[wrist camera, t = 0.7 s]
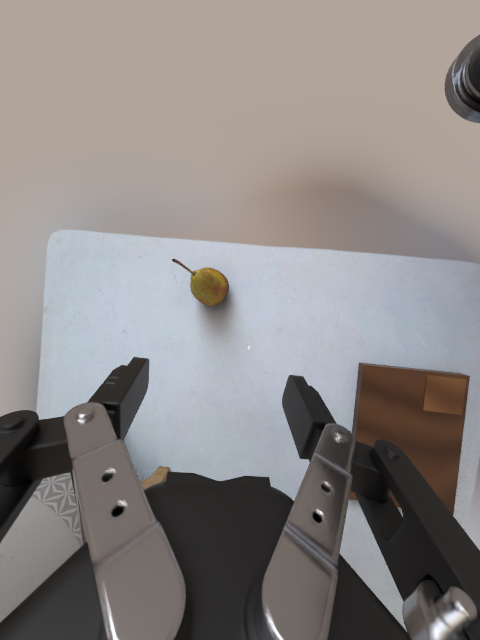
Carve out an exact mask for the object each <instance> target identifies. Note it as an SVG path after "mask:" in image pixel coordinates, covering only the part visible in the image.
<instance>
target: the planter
mask: <svg viewBox="0 0 480 640" xmlns="http://www.w3.org/2000/svg"><path fill="white" fill-rule="evenodd" d="M168 472H170V468H169V467H159V468H158V469H157V470H156V471H155V472H154V473H153V474H152V475H151V476H150V477H148V478H147V479H145V480H144V481H142V482H141V485H142V488H143V490H145V489H146V488H148V487H150V486H152V485H154V484H157V483H160V482H164V481H166V478H167V473H168ZM81 546H82V539H81V533H80V527H79V520H78V514H77V508H76V502H75V497H74V491H73V485H72V480H71V474H70V472H69V473H65V474H61V475H56V476H52V477H48V478H43V480H42V481H41V483H40V484H39V486H38V487H37V489H36V490H35V492H34V493H33V495H32V496H31V498H30V499H29V501H28V502H27V504H26V505H25V507H24V508H23V510H22V511H21V513H20V514H19V516H18V517H17V519H16V520H15V522H14V523H13V525H12V526H11V528H10V529H9V531H8V532H7V534H6V535H5V537H4V538H3V540H2V541H1V543H0V622H1V621H2V620H3V619H4V618H5V617H7V616H8V615H9V614H10V613H11V612H12V611H13V610H14V609H15V608H16V607H17V606H18V605H19V604H20V603H21V602H22V601H24V600H25V599H26V598H27V597H28V596H29V595H30V594H31V593H32V592H33V591H34V590H35V589H36V588H37V587H38V586H39V585H41V584H42V583H43V582H44V581H45V580H46V579H47V578H48V577H49V576H50V575H51V574H52V573H53V572H54V571H55V570H57V569H58V568H59V567H60V566H61V565H62V564H63V563H64V562H65V561H66V560H67V559H68V558H69V557H70V556H71V555H72V554H74V553H75V552H76V551H77V550H78V549H79V548H80V547H81Z"/></svg>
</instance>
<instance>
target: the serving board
mask: <svg viewBox="0 0 480 640" xmlns="http://www.w3.org/2000/svg"><path fill="white" fill-rule="evenodd" d="M469 377H470V376H468V375H464V374H461V373H453V372H443V371H433V370H424V369H414V368H405V367H395V366H386V365H376V364H367V363H359V371H358V381H357V391H356V400H355V410H354V420H353V429H352V435H353V436H354V438H355V440H356V441H358V442H361V443H364V444H367V445H370V446H373V444H374V442H375V441H376V440H379V439H382V440H386V441H389V442H391V443H393V444H395V445H396V446H398V447H399V448H400V449H401V450H402V451H403V452H404V453H405V454H406V455H407V456H408V458H409V459H410V460H411V462H412V463H413V464H414V466H415V467H416V468H417V469H418V471H419V472H420V473H421V475H422V476H423V477H424V479H425V480H426V481H427V483H428V484H429V485H430V486H431V488H432V489H433V490H434V492H435V493H436V494H437V496H438V497H439V498H440V500H441V501H442V502H443V503H444V505H445V506H446V507H447V509H448V510H449V511H450V513H451V514H452V515H453V513H454V504H455V496H456V487H457V479H458V470H459V462H460V453H461V445H462V436H463V428H464V419H465V411H466V403H467V394H468V386H469ZM391 498H392V500H393V501H394V503H395V505H396V507H400V505H399V504H398V502H397V500H396V499H395V497H394V495H393V494H392V495H391ZM349 499H353V500H358V499H357V497H356V495H355V493H354V492H351V491H350V495H349ZM400 508H401V507H400Z"/></svg>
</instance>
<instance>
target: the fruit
mask: <svg viewBox="0 0 480 640" xmlns="http://www.w3.org/2000/svg"><path fill="white" fill-rule="evenodd" d="M172 261H173V262H175V263H178V264H179V265H181V266H182V267H184V268H185V269H187V270H188V271H189V272H190V273H192V274H191V283H190V287H191V292H192V294H193V295H194V297H195V298H196V299H197V300H199V301H200V302H201V303H203V304H205V305H207V306H217V305H218V304H220V303H221V302H222V301H223V300H224V299H225V297H226V295H227V292H228V289H229V284H228V281H227V279H226V277H225V276H224V275H223V274H222V273H221V272H219V271H217V270H215V269H212V268H203V269H200V270H196V271H191V270H190V269H188V268H187V267H186V266H184V265H183V264H181V263H180V262H179V261H177V260H176V259H172Z"/></svg>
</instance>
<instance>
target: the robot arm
mask: <svg viewBox="0 0 480 640" xmlns="http://www.w3.org/2000/svg"><path fill="white" fill-rule="evenodd" d="M463 82H464V86H465V88H466V90H467V92H468V93H469V94H470V95H471V96H472V97H473V98H474V99H475V100H477V101H479V102H480V43H479V44H478V45H477V46H476V47H475V48H474V50H473V51H472V52H471V54H470V55H469V56H468V58H467V60H466V62H465V65H464V68H463ZM148 382H149V359H147V358H138V357H134V358H133V359H132V360H131V362H130V363H129V364H128V366H125V365H121V366H120V367H118V368H116V369H114V370H113V371H112V372H111V374H110V375H109V376H108V378H107V379H106V380H105V381H104V383H103V384H102V385H101V386H100V387H99V388H98V390H97V391H96V392H95V393H94V395H93V396H92V397H91V398H90V400H89V401H88V402H87V403H84V404H81V405H78V406H76V407H74V408H72V409H71V410H70V411H68V412H67V414H66V415H65V416H63V417H57V418H50V419H43V420H39V418H38V415H37V413H36V412H33V411H29V410H22V411H16V412H12V413H9V414H6V415H4V416H1V417H0V543H1V541H2V540H3V538H4V537H5V535H6V534H7V532H8V531H9V529H10V528H11V526H12V525H13V523H14V522H15V520H16V519H17V517H18V516H19V514H20V513H21V511H22V510H23V508H24V507H25V505H26V504H27V502H28V501H29V499H30V498H31V496H32V495H33V493H34V492H35V490H36V489H37V487H38V486H39V484H40V483H41V481H42V480H43V478H48V477H52V476H56V475H61V474H65V473H69V472H70V474H71V480H72V485H73V491H74V497H75V502H76V508H77V514H78V520H79V527H80V533H81V539H82V546H81V547H80V548H79V549H78V550H77V551H76V552H75V553H74V554H72V555H71V556H70V557H69V558H68V559H67V560H66V561H65V562H64V563H63V564H62V565H61V566H60V567H59V568H58V569H57V570H55V571H54V572H53V573H52V574H51V575H50V576H49V577H48V578H47V579H46V580H45V581H44V582H43V583H42V584H41V585H39V586H38V587H37V588H36V589H35V590H34V591H33V592H32V593H31V594H30V595H29V596H28V597H27V598H26V599H25V600H24V601H22V602H21V603H20V604H19V605H18V606H17V607H16V608H15V609H14V610H13V611H12V612H11V613H10V614H9V615H8V616H7V617H5V618H4V619H3V620H2V621H1V622H0V640H480V551H479V549H478V548H477V547H476V545H475V544H474V543H473V541H472V540H471V539H470V538H469V536H468V535H467V534H466V532H465V531H464V530H463V528H462V527H461V526H460V524H459V523H458V522H457V520H456V519H455V518H454V517H453V515H452V514H451V513H450V511H449V510H448V509H447V507H446V506H445V505H444V503H443V502H442V501H441V500H440V498H439V497H438V496H437V494H436V493H435V492H434V490H433V489H432V488H431V486H430V485H429V484H428V483H427V481H426V480H425V479H424V477H423V476H422V475H421V473H420V472H419V471H418V469H417V468H416V467H415V466H414V464H413V463H412V462H411V460H410V459H409V458H408V456H407V455H406V454H405V453H404V452H403V451H402V450H401V449H400V448H399V447H398V446H396V445H395V444H393V443H391V442H389V441H386V440H382V439H379V440H376V441H375V442H374V444H373V446H370V445H367V444H364V443H361V442H358V441H356V440H355V438H354V436H353V435H352V434H351V432H350V431H348V430H347V429H346V428H344V427H343V426H341V425H338V424H336V422H335V420H334V419H333V417H332V415H331V413H330V412H329V410H328V408H327V407H326V406H325V403H324V402H323V400H322V398H321V396H320V395H319V393H318V392H317V391H316V390H315V389H314V388H313V387H312V386H308V384H307V382H306V381H305V379H304V377H303V376H294V375H290V376H289V377H288V380H287V384H286V387H285V390H284V394H283V398H282V406H283V409H284V412H285V415H286V418H287V421H288V424H289V427H290V430H291V433H292V436H293V439H294V442H295V445H296V448H297V451H298V454H299V457H300V459H309V461H310V464H309V466H308V469H307V471H306V474H305V476H304V479H303V481H302V484H301V486H300V489H299V491H298V494H297V496H296V499H295V501H293V500H292V499H291V498H290V497H288V496H287V495H286V494H284V493H283V492H281V491H280V490H278V489H275V488H273V487H271V485H270V480H269V477H255V476H243V477H239V478H234V479H230V480H225V481H216V480H213V479H210V478H207V477H204V476H201V475H198V474H195V473H180V472H168V473H167V478H166V481H164V482H160V483H157V484H154V485H152V486H150V487H148V488H146V489H145V490H143V488H142V485H141V483H140V481H139V478H138V476H137V473H136V471H135V469H134V466H133V464H132V461H131V459H130V456H129V454H128V452H127V449H126V447H125V444H124V442H123V440H124V438H125V436H126V434H127V432H128V429H129V427H130V425H131V423H132V421H133V419H134V417H135V415H136V413H137V411H138V409H139V407H140V405H141V403H142V401H143V399H144V396H145V394H146V392H147V388H148ZM350 491H351V492H354V493H355V495H356V497H357V499H358V502H359V504H360V506H361V508H362V510H363V513H364V515H365V517H366V519H367V522H368V524H369V526H370V528H371V530H372V533H373V535H374V537H375V539H376V541H377V544H378V546H379V548H380V550H381V553H382V555H383V557H384V559H385V561H386V564H387V566H388V568H389V570H390V573H391V575H392V577H393V579H394V581H395V584H396V586H397V588H398V590H399V593H400V595H401V597H402V599H403V601H404V603H403V607H402V614H403V620H404V624H405V626H406V629H407V632H406V630H405V629H404V628H403V627H402V626H401V624H400V623H399V622H398V621H397V620H396V619H395V617H394V616H393V615H392V614H391V613H390V612H389V610H388V609H387V608H386V607H385V606H384V605H383V603H382V602H381V601H380V600H379V599H378V598H377V597H376V595H375V594H374V593H373V592H372V591H371V590H370V588H369V587H368V586H367V585H366V584H365V583H364V581H363V580H362V579H361V578H360V577H359V576H358V574H357V573H356V572H355V571H354V570H353V569H352V568H351V566H350V565H349V564H348V563H347V562H346V561H345V559H344V558H343V557H342V556H341V555H340V554H339V552H340V546H341V541H342V535H343V529H344V524H345V518H346V512H347V506H348V501H349V495H350ZM392 494H393V495H394V497H395V499H396V500H397V502H398V504H399V505H400V507H401V509H402V513H403V517H402V515H401V513H400V512H399V510H398V508H397V507H396V505H395V503H394V501H393V500H392V498H391V495H392Z"/></svg>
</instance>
